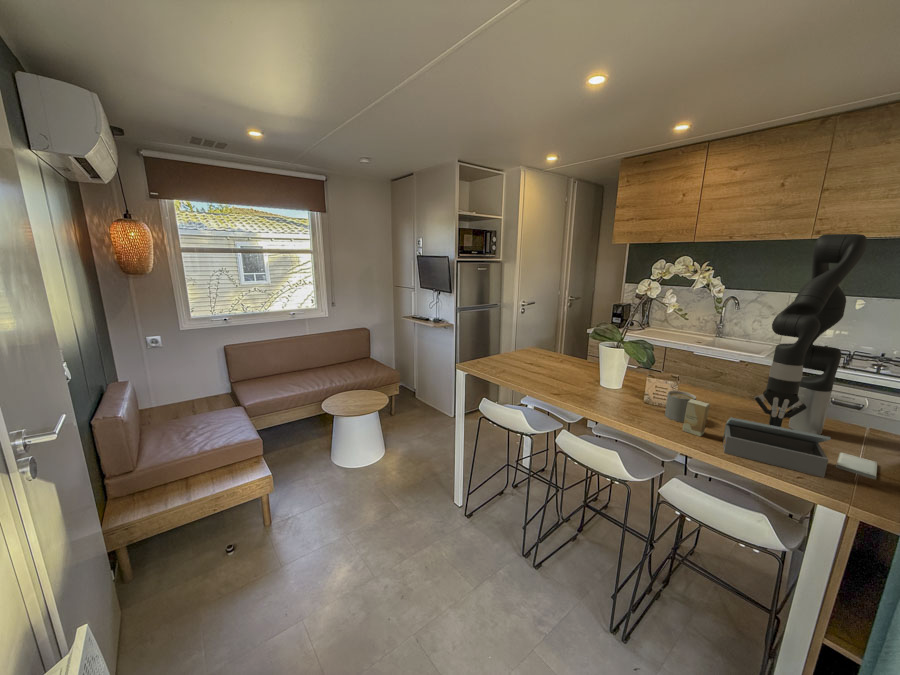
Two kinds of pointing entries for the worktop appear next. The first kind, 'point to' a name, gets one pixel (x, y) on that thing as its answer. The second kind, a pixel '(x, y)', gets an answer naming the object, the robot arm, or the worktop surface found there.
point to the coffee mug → (677, 405)
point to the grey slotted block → (775, 450)
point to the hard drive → (857, 465)
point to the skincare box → (695, 417)
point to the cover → (778, 430)
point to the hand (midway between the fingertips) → (774, 427)
